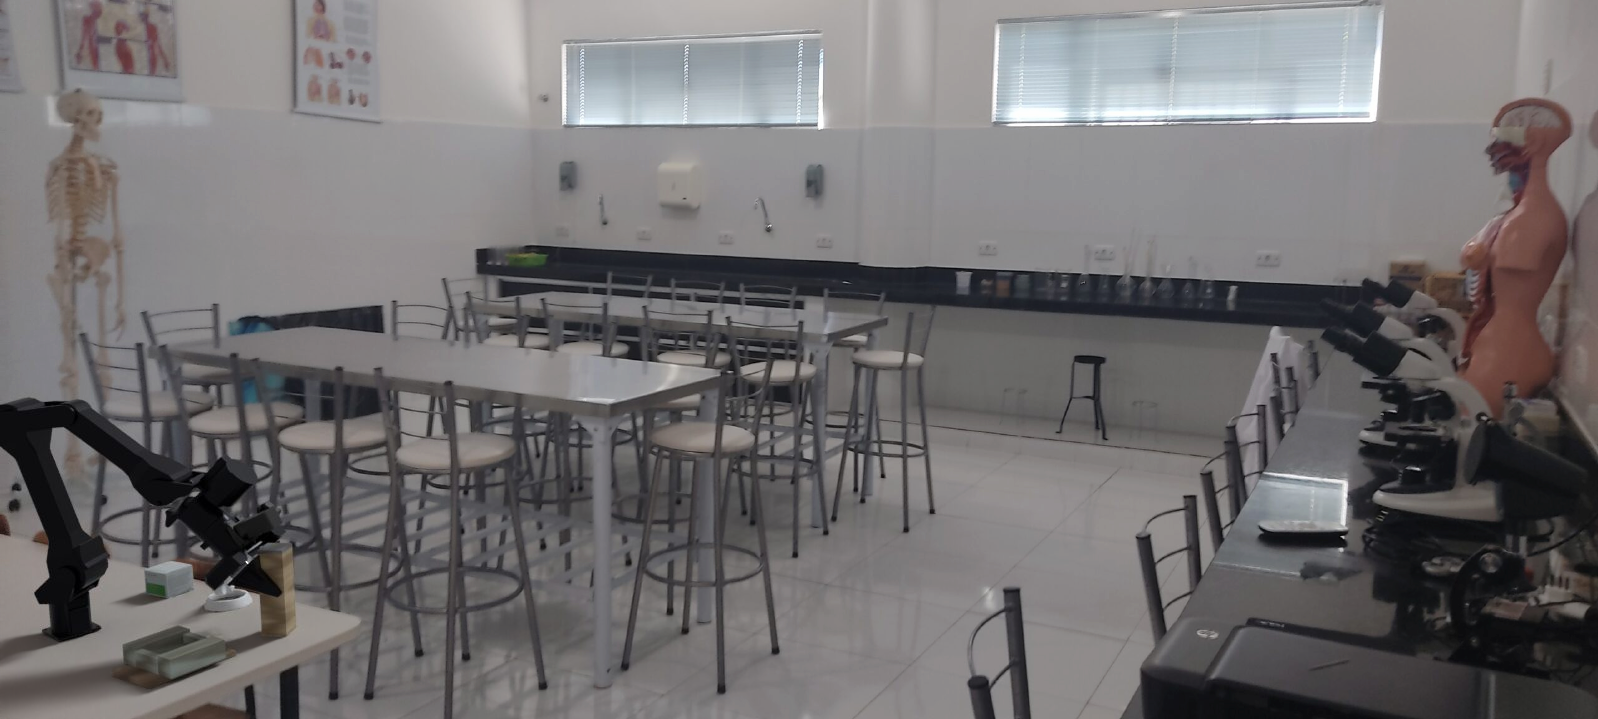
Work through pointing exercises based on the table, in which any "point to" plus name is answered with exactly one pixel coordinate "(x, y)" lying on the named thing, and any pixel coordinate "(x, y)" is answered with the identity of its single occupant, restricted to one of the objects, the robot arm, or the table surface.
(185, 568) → the small box
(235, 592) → the white stemmed ring
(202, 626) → the table surface
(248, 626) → the table surface
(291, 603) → the rail post
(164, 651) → the socket
